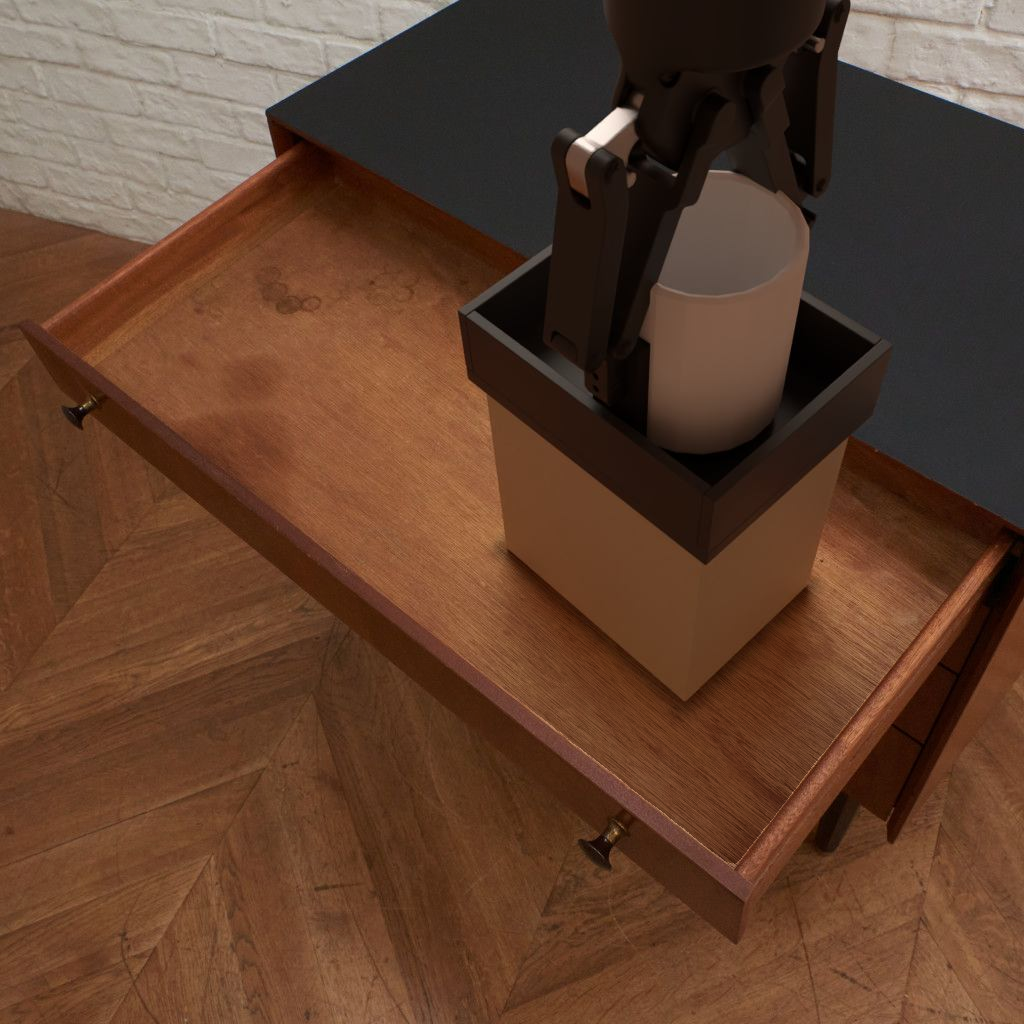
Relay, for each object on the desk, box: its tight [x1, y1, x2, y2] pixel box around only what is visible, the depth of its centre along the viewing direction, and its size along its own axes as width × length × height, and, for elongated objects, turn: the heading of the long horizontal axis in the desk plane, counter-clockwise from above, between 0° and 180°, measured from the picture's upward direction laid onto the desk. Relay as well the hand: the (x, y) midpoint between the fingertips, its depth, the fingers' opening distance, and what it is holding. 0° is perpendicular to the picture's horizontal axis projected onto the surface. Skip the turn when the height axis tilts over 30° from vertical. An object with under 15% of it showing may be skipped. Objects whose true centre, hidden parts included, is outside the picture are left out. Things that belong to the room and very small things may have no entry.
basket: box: [457, 242, 894, 565], centre depth 55 cm, size 16×12×5 cm
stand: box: [485, 393, 850, 703], centre depth 64 cm, size 15×11×16 cm
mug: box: [639, 169, 810, 455], centre depth 52 cm, size 8×12×10 cm
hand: (683, 377), depth 55 cm, fingers closed on mug, 8 cm apart
